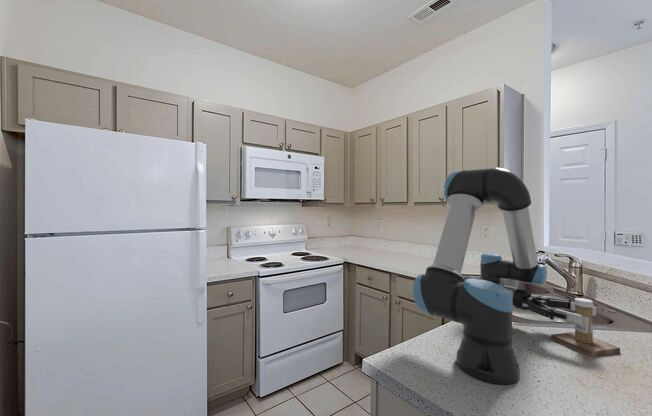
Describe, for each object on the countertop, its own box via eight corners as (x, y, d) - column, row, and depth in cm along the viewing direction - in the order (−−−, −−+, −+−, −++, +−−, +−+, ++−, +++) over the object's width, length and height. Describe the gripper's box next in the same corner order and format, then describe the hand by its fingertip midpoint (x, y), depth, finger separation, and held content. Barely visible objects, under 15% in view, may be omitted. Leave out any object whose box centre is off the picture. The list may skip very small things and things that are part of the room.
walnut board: (590, 356, 85) (590, 351, 85) (550, 338, 97) (550, 334, 97) (620, 352, 88) (620, 347, 88) (578, 335, 99) (578, 331, 99)
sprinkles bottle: (597, 343, 90) (597, 301, 91) (584, 344, 90) (585, 302, 90) (582, 337, 95) (582, 297, 95) (570, 338, 94) (570, 297, 94)
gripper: (530, 302, 116) (600, 319, 98) (499, 313, 103) (573, 335, 85) (531, 283, 116) (601, 297, 98) (499, 292, 103) (574, 310, 85)
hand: (588, 315), depth 92 cm, fingers open, 13 cm apart
